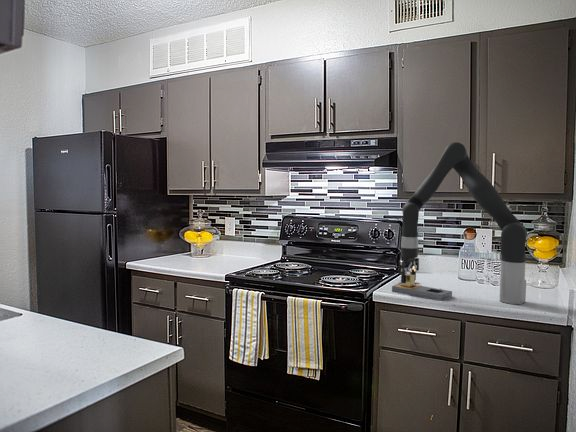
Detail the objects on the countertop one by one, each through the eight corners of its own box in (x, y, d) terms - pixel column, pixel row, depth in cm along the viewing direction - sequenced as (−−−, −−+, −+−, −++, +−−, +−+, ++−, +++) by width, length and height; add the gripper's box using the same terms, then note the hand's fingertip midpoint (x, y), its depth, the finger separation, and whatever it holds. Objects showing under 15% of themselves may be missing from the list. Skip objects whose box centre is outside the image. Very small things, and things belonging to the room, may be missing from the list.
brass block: (414, 291, 214) (414, 274, 213) (409, 293, 211) (410, 275, 210) (406, 290, 216) (407, 273, 216) (402, 291, 214) (402, 274, 213)
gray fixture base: (451, 296, 204) (452, 290, 204) (441, 300, 197) (441, 294, 197) (403, 288, 221) (403, 282, 221) (391, 291, 214) (392, 285, 214)
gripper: (408, 248, 204) (407, 285, 206) (424, 245, 215) (423, 280, 216) (393, 247, 210) (392, 282, 211) (409, 244, 220) (409, 278, 221)
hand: (408, 281), depth 213 cm, fingers open, 8 cm apart
